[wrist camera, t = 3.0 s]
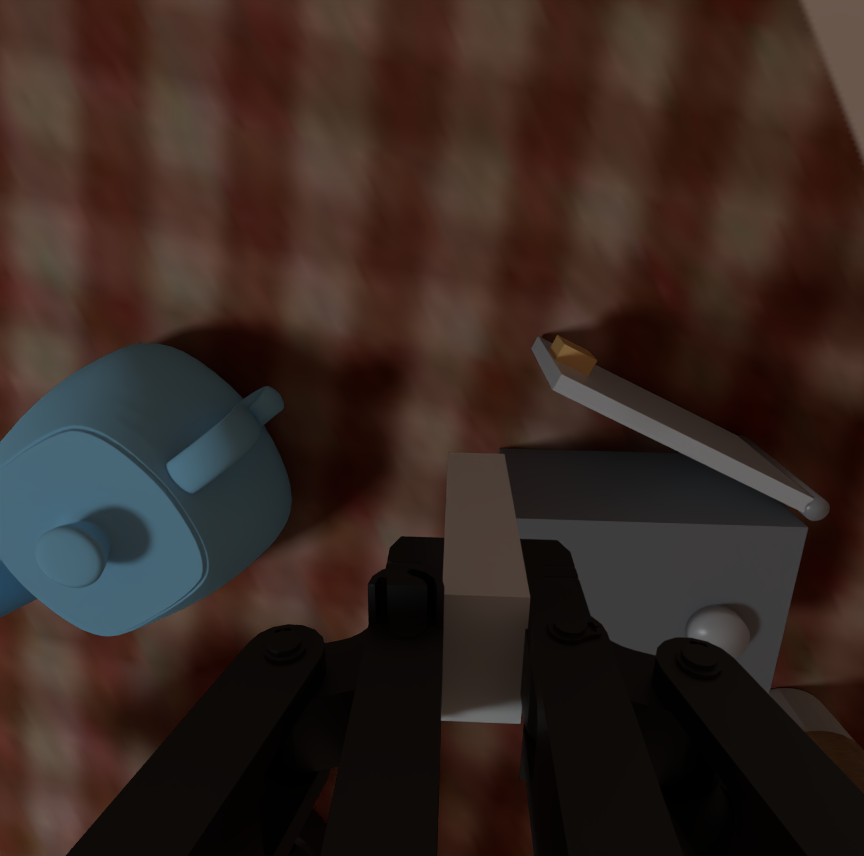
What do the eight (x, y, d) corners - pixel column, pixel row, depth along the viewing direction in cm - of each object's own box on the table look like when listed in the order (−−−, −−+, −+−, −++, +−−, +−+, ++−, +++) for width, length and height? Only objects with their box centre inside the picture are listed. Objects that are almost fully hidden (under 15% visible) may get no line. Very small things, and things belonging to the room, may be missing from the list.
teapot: (-228, 562, 25) (102, 312, 21) (-32, 460, 35) (215, 277, 31) (4, 771, 28) (326, 585, 25) (122, 623, 39) (363, 475, 35)
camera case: (449, 607, 37) (447, 722, 29) (454, 447, 34) (453, 525, 26) (699, 616, 37) (770, 736, 28) (729, 454, 33) (818, 537, 25)
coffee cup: (755, 650, 37) (937, 921, 23) (878, 699, 38) (1125, 990, 24) (681, 750, 40) (803, 1049, 26) (797, 795, 41) (977, 1107, 27)
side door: (529, 351, 32) (550, 393, 25) (545, 322, 31) (571, 356, 24) (741, 456, 33) (819, 524, 26) (760, 430, 33) (844, 492, 26)
